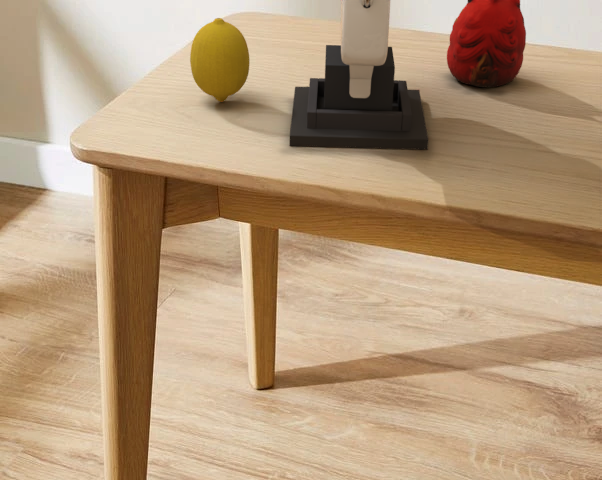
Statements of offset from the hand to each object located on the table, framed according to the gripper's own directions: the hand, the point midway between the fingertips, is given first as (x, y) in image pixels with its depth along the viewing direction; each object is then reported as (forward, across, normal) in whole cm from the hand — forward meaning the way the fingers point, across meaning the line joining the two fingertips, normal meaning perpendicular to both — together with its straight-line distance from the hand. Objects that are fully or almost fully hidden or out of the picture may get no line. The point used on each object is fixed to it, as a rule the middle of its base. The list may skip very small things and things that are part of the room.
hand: (358, 81), depth 88 cm
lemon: (+4, +4, +13) cm, 14 cm away
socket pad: (+4, 0, 0) cm, 4 cm away
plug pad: (+2, 0, 0) cm, 2 cm away
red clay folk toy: (+4, +12, -13) cm, 18 cm away
